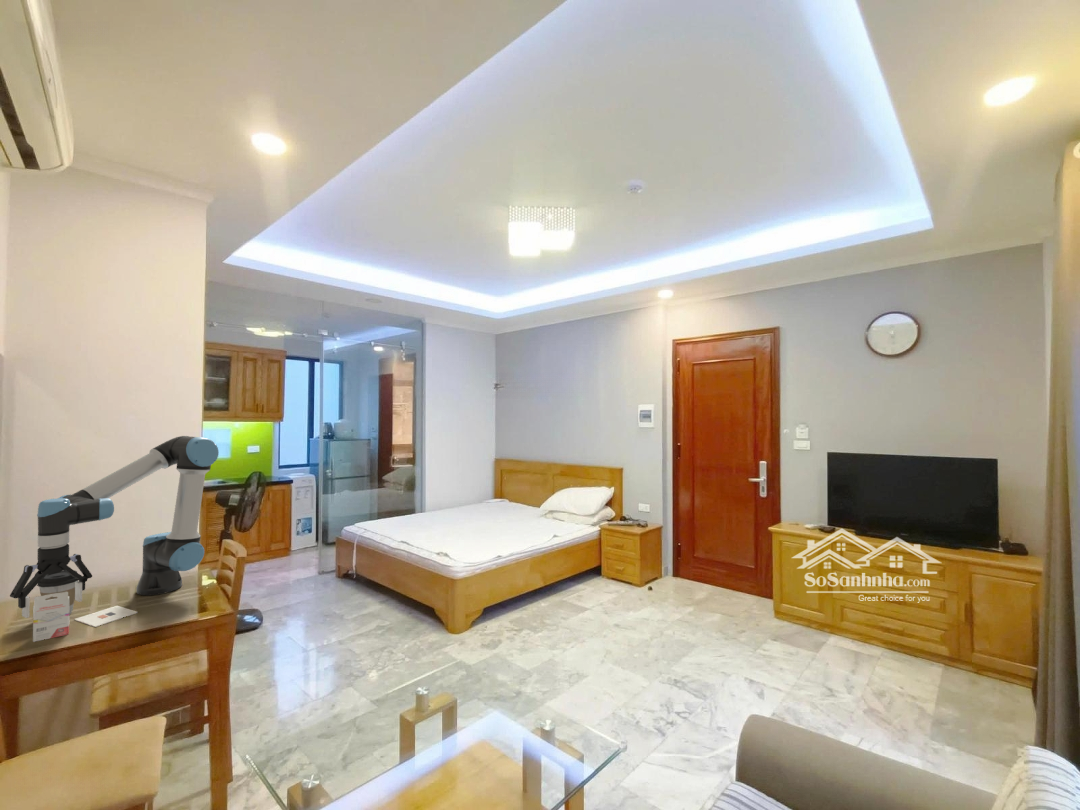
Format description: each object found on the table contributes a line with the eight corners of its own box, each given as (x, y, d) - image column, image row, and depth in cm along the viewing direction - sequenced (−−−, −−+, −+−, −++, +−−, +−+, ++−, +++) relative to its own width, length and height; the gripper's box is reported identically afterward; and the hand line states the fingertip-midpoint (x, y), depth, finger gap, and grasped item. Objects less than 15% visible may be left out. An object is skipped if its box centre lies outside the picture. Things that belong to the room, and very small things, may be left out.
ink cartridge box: (69, 629, 168) (70, 586, 168) (68, 634, 164) (69, 591, 164) (33, 636, 162) (35, 592, 162) (31, 642, 159) (33, 597, 159)
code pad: (117, 606, 187) (117, 605, 187) (137, 612, 182) (137, 611, 182) (74, 619, 175) (74, 618, 175) (95, 627, 170) (95, 626, 170)
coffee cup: (31, 624, 170) (32, 581, 170) (42, 612, 180) (43, 571, 180) (75, 617, 176) (76, 576, 176) (83, 606, 186) (84, 567, 186)
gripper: (92, 534, 176) (92, 592, 176) (-5, 554, 153) (-5, 621, 153) (105, 537, 173) (104, 596, 174) (7, 558, 150) (7, 626, 151)
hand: (53, 608), depth 163 cm, fingers open, 13 cm apart
